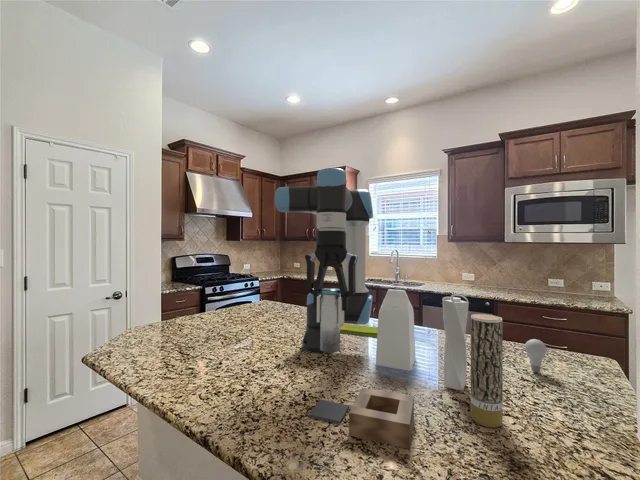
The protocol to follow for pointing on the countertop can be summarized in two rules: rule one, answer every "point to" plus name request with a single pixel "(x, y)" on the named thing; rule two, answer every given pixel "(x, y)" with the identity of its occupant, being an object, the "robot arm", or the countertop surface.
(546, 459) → the countertop surface
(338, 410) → the mat
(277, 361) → the countertop surface
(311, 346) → the robot arm
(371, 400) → the housing
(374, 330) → the dish towel
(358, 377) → the countertop surface
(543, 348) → the lightbulb
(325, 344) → the teal-capped metal cylinder
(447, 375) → the skyscraper
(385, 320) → the milk
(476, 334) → the bark-print cylinder
